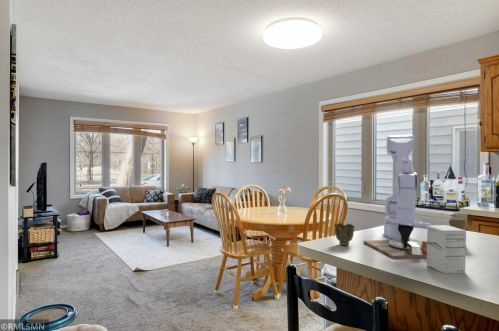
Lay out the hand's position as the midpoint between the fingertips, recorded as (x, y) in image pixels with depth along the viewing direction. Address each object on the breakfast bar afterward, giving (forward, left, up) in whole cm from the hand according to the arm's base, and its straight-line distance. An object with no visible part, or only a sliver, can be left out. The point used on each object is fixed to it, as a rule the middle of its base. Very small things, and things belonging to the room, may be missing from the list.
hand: (405, 247), depth 106 cm
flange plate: (-4, +4, -1) cm, 6 cm away
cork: (-8, +26, -3) cm, 28 cm away
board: (-7, +4, -3) cm, 9 cm away
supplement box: (+14, +3, -3) cm, 15 cm away
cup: (-15, -16, -3) cm, 22 cm away
